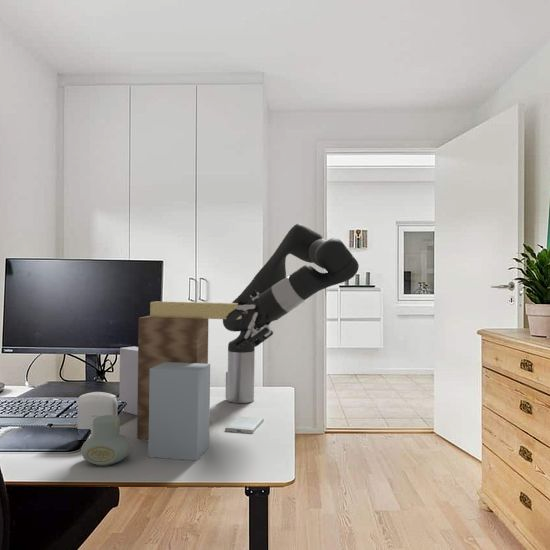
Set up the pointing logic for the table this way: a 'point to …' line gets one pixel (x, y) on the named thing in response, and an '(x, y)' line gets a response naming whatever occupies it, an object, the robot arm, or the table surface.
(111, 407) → the photo printer
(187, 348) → the stand
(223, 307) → the bar
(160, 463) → the table surface
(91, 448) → the air freshener
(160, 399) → the block
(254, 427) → the hard drive
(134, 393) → the game console
